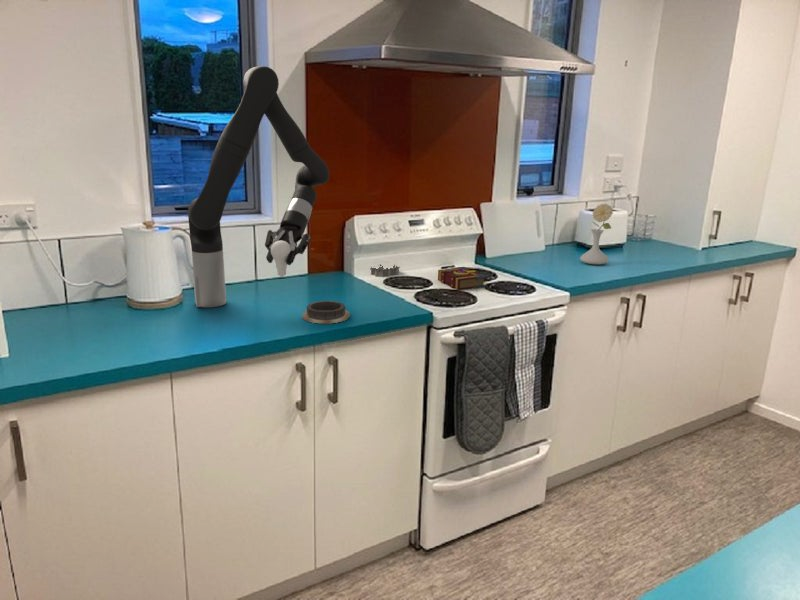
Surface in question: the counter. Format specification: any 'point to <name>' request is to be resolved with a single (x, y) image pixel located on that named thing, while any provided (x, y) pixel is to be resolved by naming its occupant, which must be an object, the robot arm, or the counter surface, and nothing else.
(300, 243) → the robot arm
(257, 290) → the counter surface
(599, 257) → the flower in vase
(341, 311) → the bulb holder
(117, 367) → the counter surface
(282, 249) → the lightbulb
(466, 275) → the decorative book
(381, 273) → the egg carton
